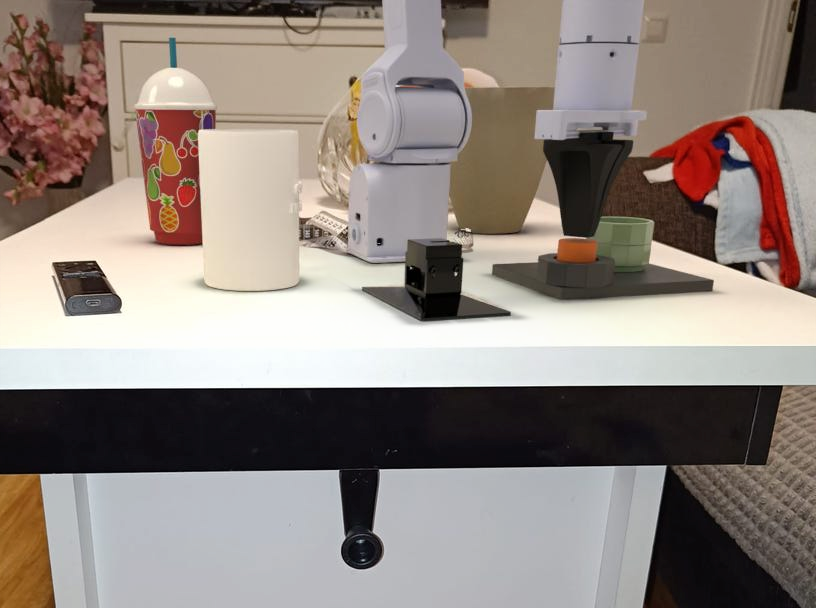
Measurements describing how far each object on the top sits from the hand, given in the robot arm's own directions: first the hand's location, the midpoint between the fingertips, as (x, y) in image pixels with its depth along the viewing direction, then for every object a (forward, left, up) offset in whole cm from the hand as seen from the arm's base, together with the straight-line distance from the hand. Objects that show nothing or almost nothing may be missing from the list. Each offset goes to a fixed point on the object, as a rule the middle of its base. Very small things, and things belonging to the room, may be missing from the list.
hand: (578, 236), depth 73 cm
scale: (+4, +4, -4) cm, 7 cm away
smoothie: (-26, +38, -5) cm, 46 cm away
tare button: (0, 0, -2) cm, 2 cm away
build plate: (-13, 0, -5) cm, 13 cm away
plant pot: (+11, +39, -5) cm, 40 cm away
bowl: (+7, +5, -3) cm, 9 cm away
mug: (-24, +14, -5) cm, 28 cm away
